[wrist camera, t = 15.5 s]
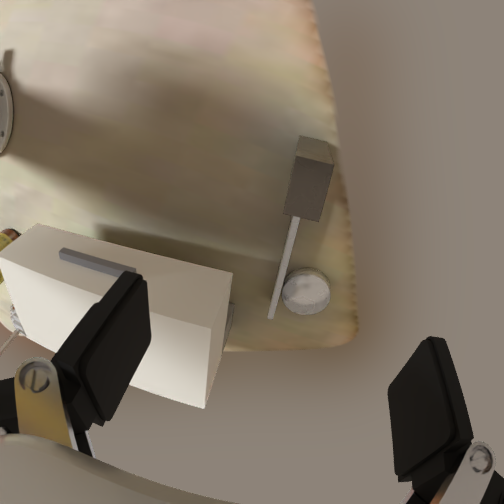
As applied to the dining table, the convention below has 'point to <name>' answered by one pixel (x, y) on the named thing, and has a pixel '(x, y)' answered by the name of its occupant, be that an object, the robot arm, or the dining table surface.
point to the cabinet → (95, 287)
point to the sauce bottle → (6, 243)
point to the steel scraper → (303, 197)
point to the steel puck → (306, 291)
